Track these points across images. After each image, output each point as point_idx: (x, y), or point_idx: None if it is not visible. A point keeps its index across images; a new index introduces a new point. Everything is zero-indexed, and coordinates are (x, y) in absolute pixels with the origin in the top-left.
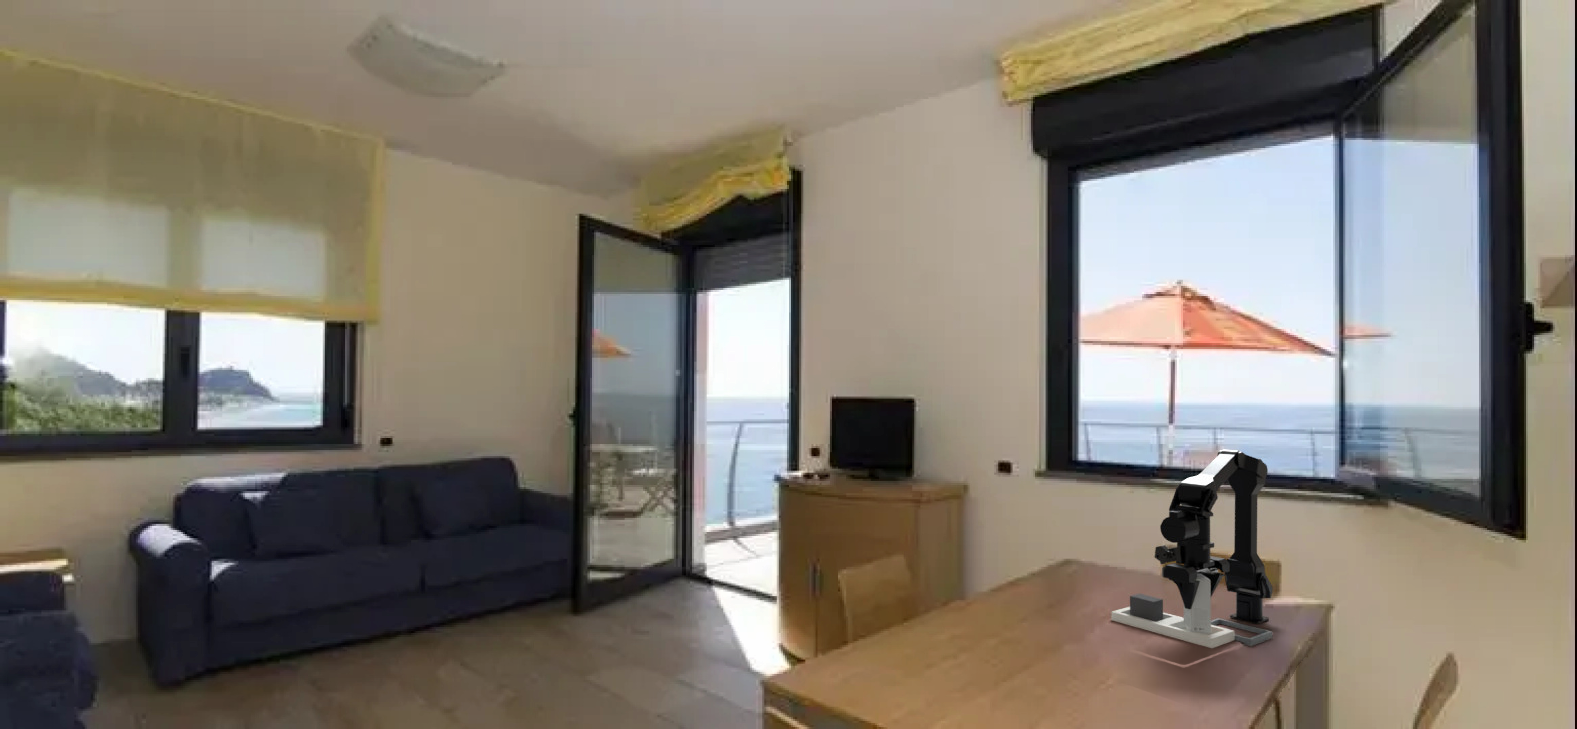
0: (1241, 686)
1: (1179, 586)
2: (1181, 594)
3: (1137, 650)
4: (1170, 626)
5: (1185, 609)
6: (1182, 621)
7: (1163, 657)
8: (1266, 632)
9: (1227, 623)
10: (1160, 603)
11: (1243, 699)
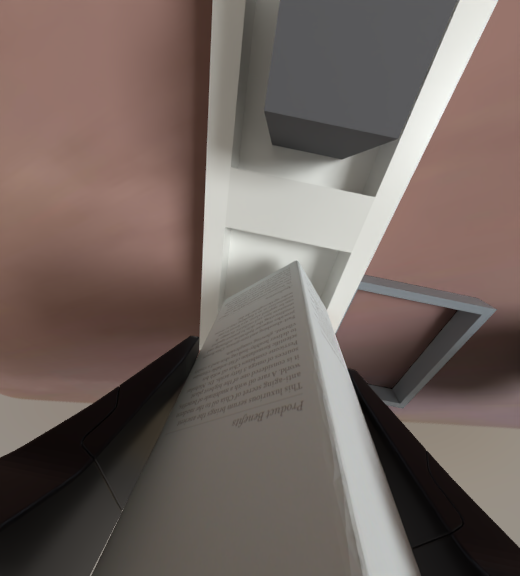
0: (82, 384)
1: (41, 453)
2: (121, 388)
3: (31, 198)
4: (215, 238)
5: (270, 303)
6: (328, 247)
7: (62, 269)
8: (386, 401)
9: (458, 328)
10: (353, 137)
11: (44, 390)
